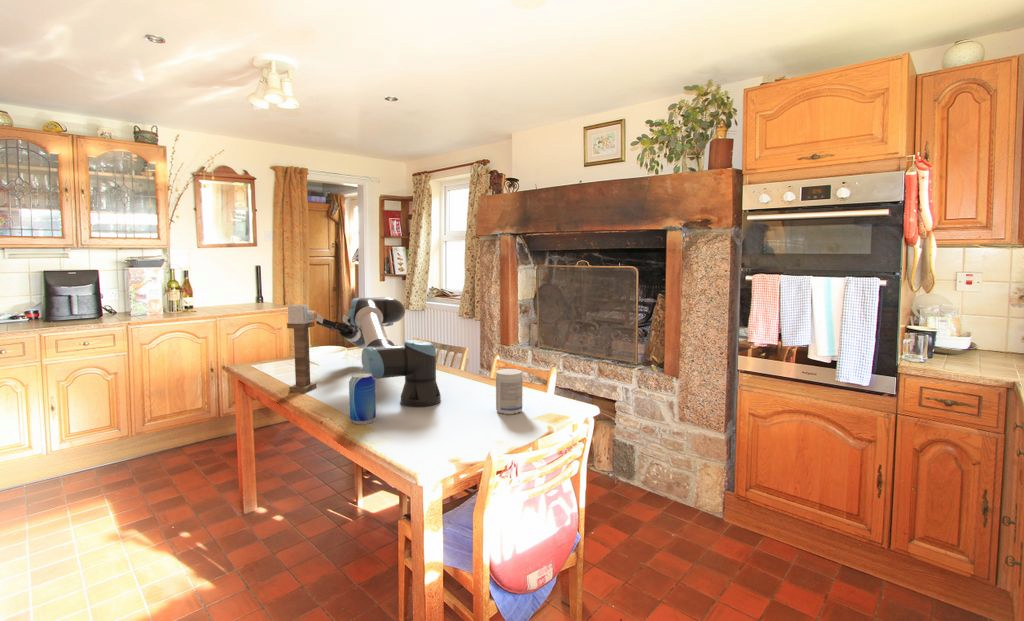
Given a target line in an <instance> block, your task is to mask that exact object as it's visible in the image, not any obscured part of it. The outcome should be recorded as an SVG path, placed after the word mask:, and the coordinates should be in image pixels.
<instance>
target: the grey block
mask: <svg viewBox="0 0 1024 621" xmlns="http://www.w3.org/2000/svg"><path fill="white" fill-rule="evenodd" d="M317 313H318V310H317V309H314V310H312V309H309V304H292V305H288V306H287V315H288V323H289V324H304V323H308V322H309V321H314V320H316V319H317Z"/></svg>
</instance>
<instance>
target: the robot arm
mask: <svg viewBox="0 0 1024 621" xmlns="http://www.w3.org/2000/svg"><path fill="white" fill-rule="evenodd" d="M350 302H351V303H350V309H349V310H348V313H347V314H343V315H342V316H343V317H342V321H343V322H339V321H331V320H329V319H326V318H325V317H323V315H321V314H319V313H318V312H317V319H315V321H316V322H315V323H316V324H317V325H319V326H322V327H324V328H327V329H329V330H331V331H334V330H336V331H338V332H339V335H340V336H341V337H342V338H344V339H346V340H347V341H348V342H349V343H351V344H352V345H354V346H355V347H357V348H358V349H359V348H360V349H362V348H363V349H362V351H361V365H362V370H363V373H371V374H372V377H373V378H374V379H375V380H380V379H386V378H387V379H389V378H397V377H404V384H403V388H402V391H401V395H400V404H401V405H403V406H408V407H416V408H417V407H418V408H419V407H430V406H434V405H437V404H439V403H441V396H442V395H441V392H440V389H439V387H438V386H439V385H438V383H437V351H436V350H437V349H436V348H437V347H436V345H435V344H433V343H432V342H429V341H425V340H418V339H417V340H415V339H410V340H409V339H408V340H405V341H404V343H403V344H398V345H396V344H394V342H393V341H391V339H388V336H387V334H386V330H385V328H384V327H390V326H391V327H392V326H393V325H394V323H397V322H399V321H401V320H402V319H403V318H404V317H405V314H406V309H405V305H404V304H403V303H402V302H401V301H399V300H398V299H396V298H393V297H387V296H385V297H384V296H382V297H355V298H352V299H351V301H350ZM347 315H348V316H347Z"/></svg>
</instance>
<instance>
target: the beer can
mask: <svg viewBox="0 0 1024 621" xmlns="http://www.w3.org/2000/svg"><path fill="white" fill-rule="evenodd" d="M348 391H349V392H348V396H349V400H348V401H349V419H350V421H351V423H353V424H354V423H356V424H355V425H366V424H365V423H368V424H371V423H373V422H374V420H375V419H376V417H377V415H376V414H377V413H376V412H377V410H376V409H377V406H376V379H375V378H373V377H372V374H371V373H364V372H357V373H353V374H352V375H351V378H350V380H349V381H348ZM370 422H371V423H370Z"/></svg>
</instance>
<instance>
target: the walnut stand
mask: <svg viewBox="0 0 1024 621" xmlns="http://www.w3.org/2000/svg"><path fill="white" fill-rule="evenodd" d="M312 327H315V321H314V320H311V321H309V322H308V323H304V324H289V322H287V323H286V329H292V330H293V343H294V344H293V345H294V349H293V350H294V374H295V377H294V378H295V384H293V385H291V386H289V392H290V391H292V392H291V393H298V392H301V393H302V394H306V392H307V393H309V392H310V390H311V391H313V390H316V389H317V382H311V367H310V365H311V364H310V363H311V362H310V339H309V338H310V336H309V335H310V334H309V333H310V332H309V329H310V328H312ZM312 389H313V390H312ZM308 391H309V392H308Z"/></svg>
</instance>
